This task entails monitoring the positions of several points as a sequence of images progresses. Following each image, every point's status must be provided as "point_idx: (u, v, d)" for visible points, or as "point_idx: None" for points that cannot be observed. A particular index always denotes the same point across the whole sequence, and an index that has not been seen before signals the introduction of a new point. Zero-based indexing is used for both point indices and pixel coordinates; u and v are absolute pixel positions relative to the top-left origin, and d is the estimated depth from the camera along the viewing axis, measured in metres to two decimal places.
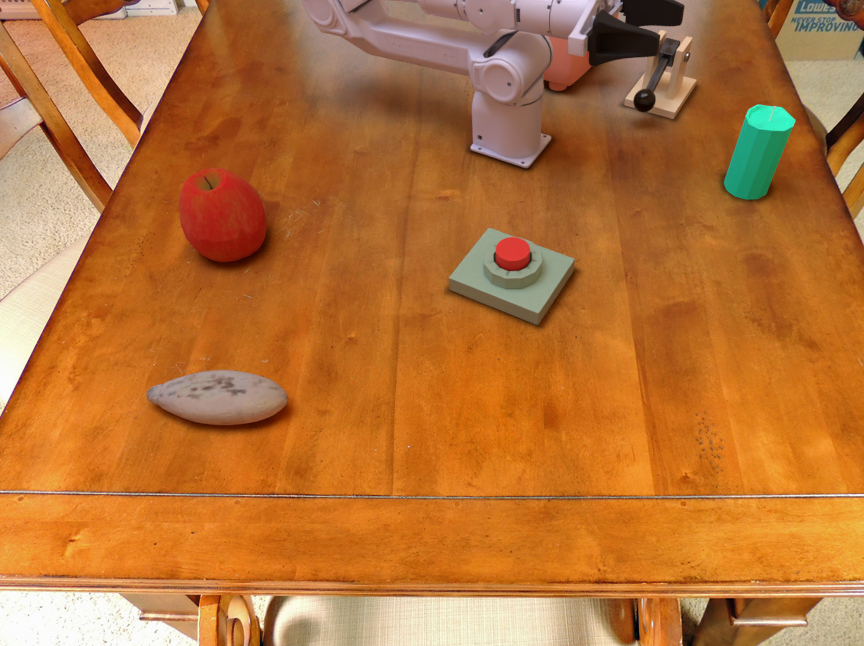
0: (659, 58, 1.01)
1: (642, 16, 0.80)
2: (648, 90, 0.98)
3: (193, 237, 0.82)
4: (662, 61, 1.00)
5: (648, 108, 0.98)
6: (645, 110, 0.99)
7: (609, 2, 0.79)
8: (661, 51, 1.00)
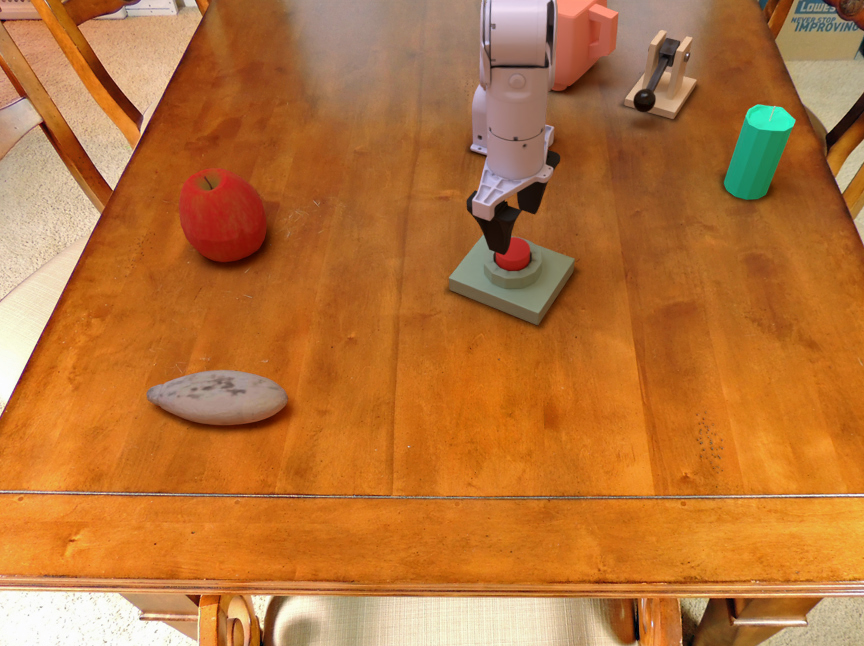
0: (659, 58, 1.01)
1: None
2: (648, 90, 0.98)
3: (193, 236, 0.82)
4: (662, 61, 1.00)
5: (648, 108, 0.98)
6: (645, 110, 0.99)
7: None
8: (661, 51, 1.00)
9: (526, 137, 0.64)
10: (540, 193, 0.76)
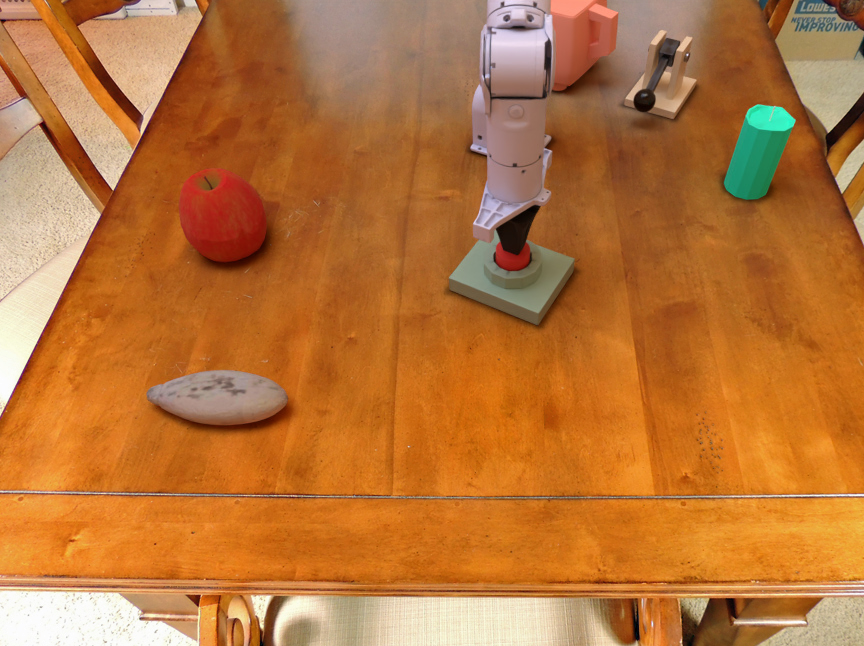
0: (659, 58, 1.01)
1: None
2: (648, 90, 0.98)
3: (193, 236, 0.82)
4: (662, 61, 1.00)
5: (648, 108, 0.98)
6: (645, 110, 0.99)
7: None
8: (661, 51, 1.00)
9: (525, 163, 0.67)
10: (526, 232, 0.77)
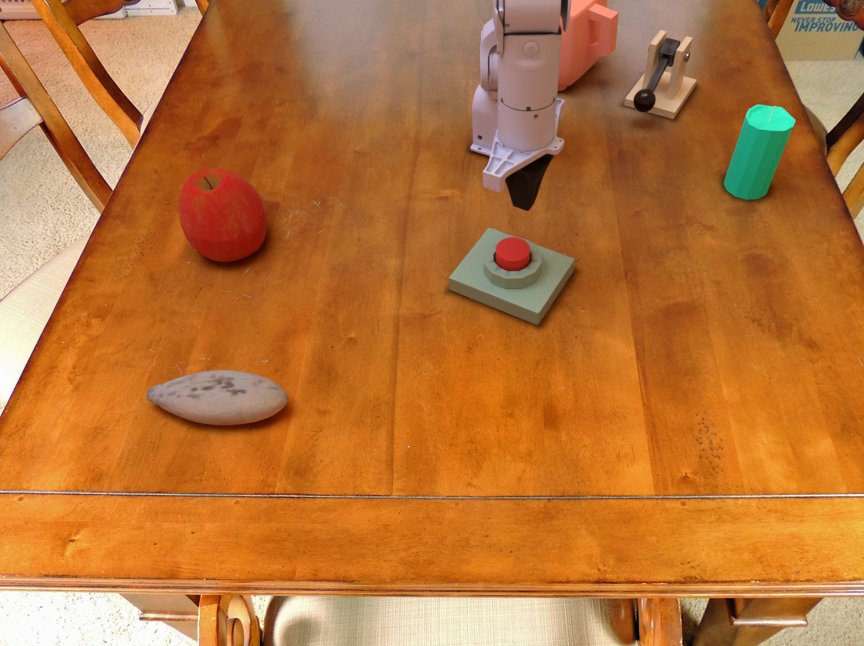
0: (659, 58, 1.01)
1: None
2: (648, 90, 0.98)
3: (193, 236, 0.82)
4: (662, 61, 1.00)
5: (648, 108, 0.98)
6: (645, 110, 0.99)
7: None
8: (661, 51, 1.00)
9: (539, 107, 0.64)
10: (537, 186, 0.74)
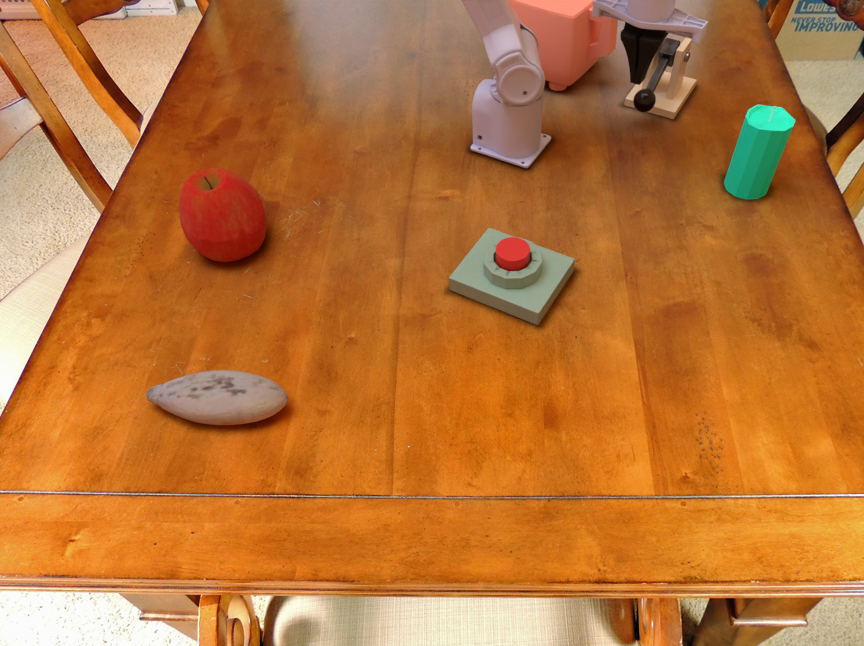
0: (659, 58, 1.01)
1: None
2: (648, 90, 0.98)
3: (193, 236, 0.82)
4: (662, 61, 1.00)
5: (648, 108, 0.98)
6: (645, 110, 0.99)
7: None
8: (661, 51, 1.00)
9: None
10: None
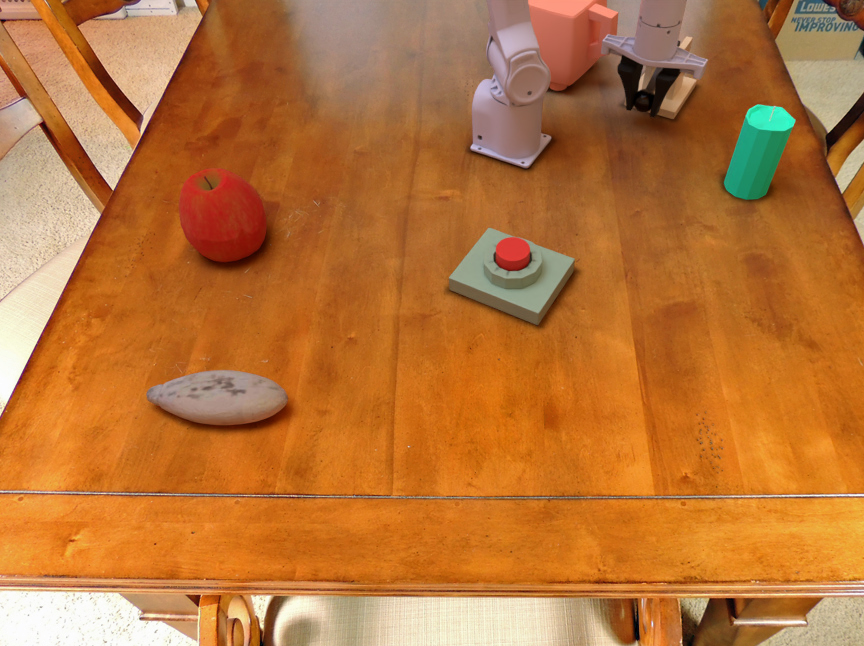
0: None
1: (634, 80, 0.97)
2: (648, 90, 0.98)
3: (193, 236, 0.82)
4: None
5: (648, 108, 0.98)
6: (645, 110, 0.99)
7: None
8: None
9: None
10: None
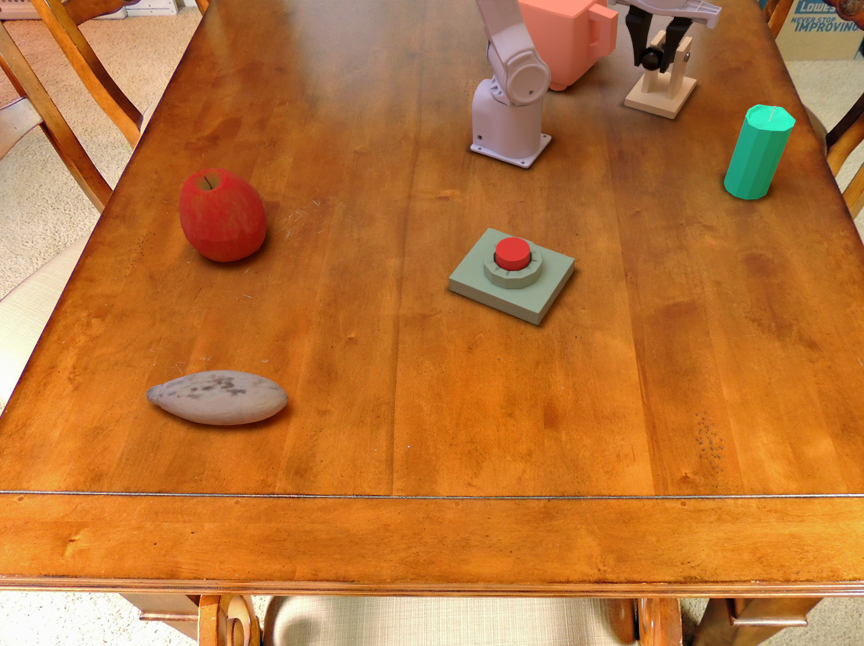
0: None
1: (643, 32, 0.91)
2: None
3: (193, 236, 0.82)
4: None
5: (658, 61, 0.93)
6: (654, 62, 0.93)
7: None
8: None
9: None
10: (647, 36, 0.94)
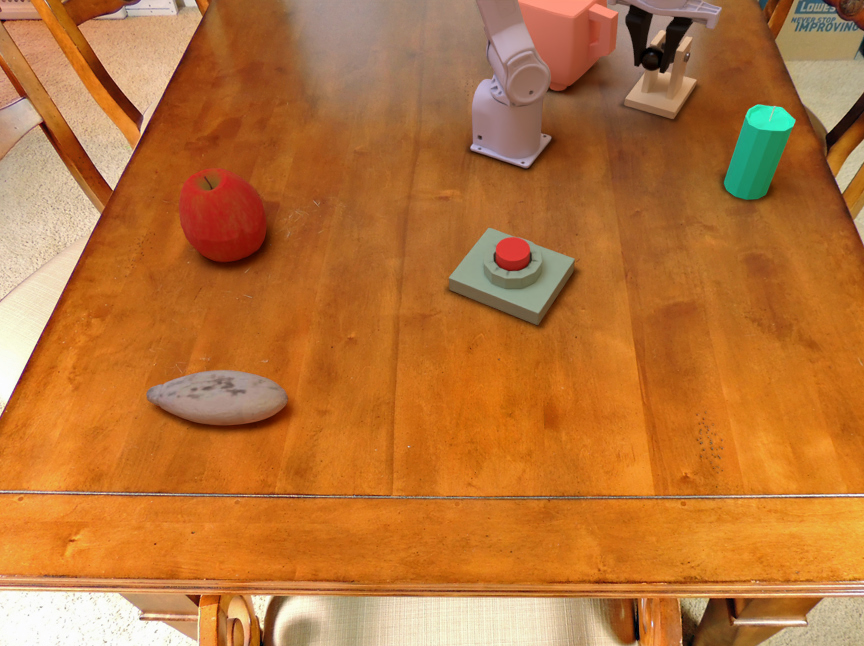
0: None
1: (643, 32, 0.91)
2: None
3: (193, 236, 0.82)
4: None
5: (658, 61, 0.93)
6: (654, 62, 0.93)
7: None
8: None
9: None
10: (647, 36, 0.94)
